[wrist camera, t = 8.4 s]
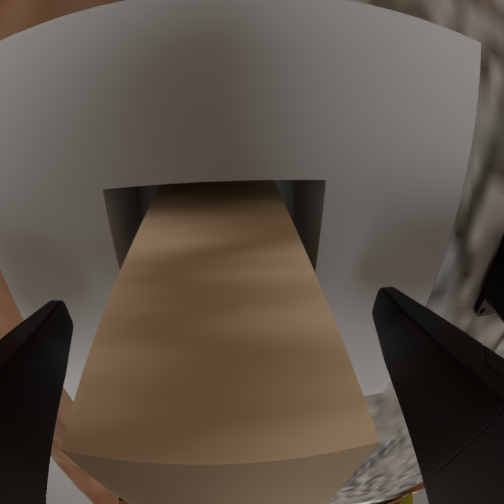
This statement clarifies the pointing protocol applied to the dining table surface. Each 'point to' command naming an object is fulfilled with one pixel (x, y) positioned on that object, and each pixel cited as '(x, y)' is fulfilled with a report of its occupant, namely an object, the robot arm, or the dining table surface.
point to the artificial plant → (406, 499)
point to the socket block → (235, 144)
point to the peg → (219, 362)
